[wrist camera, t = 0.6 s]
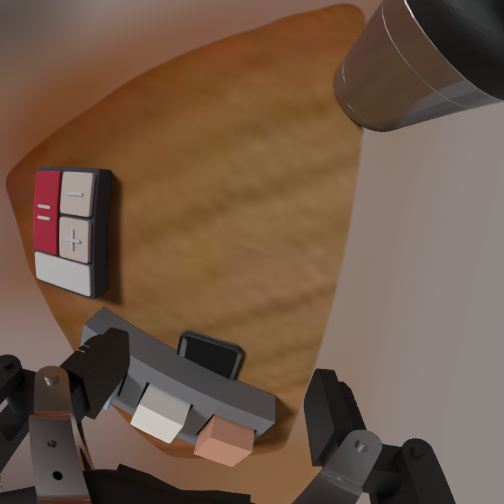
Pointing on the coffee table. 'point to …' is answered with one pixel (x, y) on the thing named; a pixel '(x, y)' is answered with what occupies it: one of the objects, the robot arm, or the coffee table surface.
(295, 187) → the coffee table surface
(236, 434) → the terracotta key
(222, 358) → the phone
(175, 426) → the white key
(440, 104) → the robot arm
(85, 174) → the calculator
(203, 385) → the key panel
